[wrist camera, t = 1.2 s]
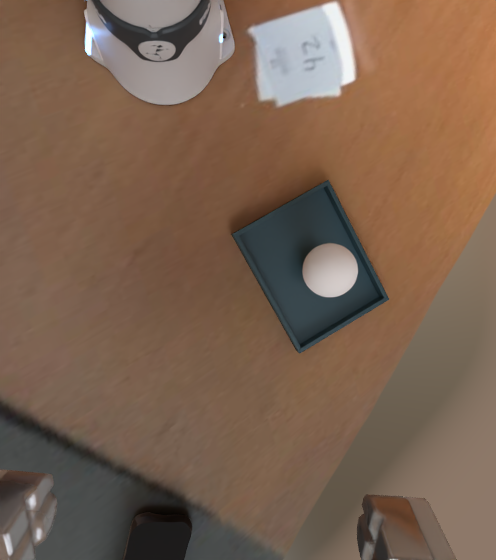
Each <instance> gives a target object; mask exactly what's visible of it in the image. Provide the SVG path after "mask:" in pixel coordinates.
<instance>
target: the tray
mask: <svg viewBox="0 0 496 560" xmlns="http://www.w3.org/2000/svg"><path fill="white" fill-rule="evenodd" d="M231 235H232V236H233V238H234V240H235V242H236V244H237V245H238V247H239V249H240V251H241V253H242V254H243V256H244V258H245V260H246V261H247V263H248V265H249V267H250V269H251V270H252V272H253V274H254V276H255V278H256V279H257V281H258V283H259V285H260V286H261V288H262V290H263V292H264V294H265V295H266V297H267V299H268V301H269V302H270V304H271V306H272V308H273V310H274V311H275V313H276V315H277V317H278V319H279V320H280V322H281V324H282V326H283V327H284V329H285V331H286V333H287V335H288V336H289V338H290V340H291V342H292V344H293V345H294V347H295V349H296V351H297V352H298V353H301V352H303V351H305V350H306V349H308V348H310V347H311V346H313V345H315V344H316V343H318V342H320V341H321V340H323V339H324V338H326V337H328V336H329V335H331V334H333V333H334V332H336V331H338V330H339V329H341V328H343V327H344V326H346V325H348V324H349V323H351V322H353V321H354V320H356V319H358V318H359V317H361V316H363V315H364V314H366V313H368V312H369V311H371V310H373V309H374V308H376V307H377V306H379V305H381V304H382V303H384V302H386V301H387V300H389V298H388V296H387V294H386V292H385V290H384V288H383V286H382V284H381V283H380V281H379V279H378V277H377V275H376V273H375V271H374V269H373V267H372V265H371V263H370V261H369V259H368V257H367V255H366V253H365V251H364V249H363V247H362V245H361V243H360V241H359V239H358V237H357V235H356V233H355V231H354V229H353V227H352V225H351V223H350V221H349V219H348V217H347V215H346V213H345V212H344V210H343V208H342V206H341V204H340V202H339V200H338V198H337V196H336V194H335V192H334V190H333V188H332V186H331V184H330V182H329V180H327V181H325V182H323V183H322V184H320V185H318V186H316V187H315V188H313V189H311V190H309V191H307V192H306V193H304V194H302V195H300V196H299V197H297V198H295V199H293V200H292V201H290V202H288V203H286V204H284V205H283V206H281V207H279V208H277V209H276V210H274V211H272V212H270V213H269V214H267V215H265V216H263V217H261V218H260V219H258V220H256V221H254V222H253V223H251V224H249V225H247V226H246V227H244V228H242V229H240V230H238V231H237V232H235V233H233V234H231ZM327 243H334V244H338V245H341V246H343V247H345V248H347V249H348V250H349V251H350V252H351V253H352V254H353V256H354V257H355V259H356V262H357V266H358V275H357V279H356V281H355V283H354V285H353V286H352V288H351V289H350V290H349V291H347V292H346V293H344V294H343V295H340V296H338V297H323V296H320V295H317V294H316V293H314V292H313V291H312V290H310V289H309V287H308V286H307V285H306V283H305V281H304V278H303V273H302V267H303V263H304V260H305V258H306V256H307V255H308V253H309V252H310V251H311V250H312V249H314V248H315V247H317V246H319V245H322V244H327Z"/></svg>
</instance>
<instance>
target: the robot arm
mask: <svg viewBox="0 0 496 560" xmlns="http://www.w3.org/2000/svg"><path fill="white" fill-rule="evenodd" d="M85 1H87V9H85V10H84V15H85V19H86V28H85V40H84V46H85V50H86V52H87V54H88V55H89V56H90V57H91V58H92V59H94V60H95V61H96V62H98V63H100V64H101V65H103V66H105V67H106V68H107V69H109V71H110V72H111V73H112V74H113V75H114V77H115V78H116V79H117V81H118V82H119V83H120V84H121V85H122V86H123V87H124V88H125V89H126V90H127V91H128V92H130V93H131V94H132V95H134V96H136V97H137V98H139V99H141V100H144V101H146V102H149V103H153V104H158V105H173V104H178V103H182V102H185V101H187V100H189V99H191V98H193V97H195V96H196V95H197V94H199V93H200V92H201V91H202V90H203V89H204V88H205V87H206V86H207V84H208V83H209V81H210V80H211V78H212V76H213V74H214V73H215V71H216V69H217V68H218V67H219V66H220V65H221V64H222V63H224V62H225V61H226V60H228V59H229V58H230V57H231V56H232V55H233V53H234V50H235V43H234V39H233V35H232V31H231V27H230V23H229V20H228V16H227V12H226V8H225V4H224V1H223V0H85ZM223 35H224V36H225V37H226V38H225V39H223ZM53 485H54V482H53V477H52V475H51V474H44V473H34V472H23V471H13V470H0V560H35V558H36V556H35V547H36V546H37V545H39V544H40V543H41V542H42V541H44V540H45V539H46V538H47V536H48V534H49V532H50V530H51V528H52V525H53V522H54V519H55V516H56V510H57V500H56V496H55V495H54V494H53V493H52V492H51V491H50V490H51V488H52V487H53ZM362 507H363V510H364V514H362V515H361V516H360V517H359V519H358V525H357V541H358V547H359V552H360V557H361V560H457V559H456V557H455V555H454V553H453V551H452V549H451V547H450V545H449V543H448V541H447V539H446V537H445V535H444V533H443V531H442V529H441V527H440V525H439V523H438V521H437V518H436V516H435V514H434V512H433V510H432V508H431V506H430V504H429V502H428V501H427V500H426V499H425V498H413V497H403V496H386V495H385V496H384V495H365V497H364V498H363V503H362Z"/></svg>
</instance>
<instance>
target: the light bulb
mask: <svg viewBox="0 0 496 560" xmlns="http://www.w3.org/2000/svg"><path fill="white" fill-rule="evenodd" d="M302 273H303V278H304V281H305V283H306V285H307V286H308V287H309V289H310V290H312V291H313V292H314V293H316V294H317V295H320V296H323V297H338V296H340V295H343V294H344V293H346V292H347V291H349V290H350V289H351V288H352V286H353V285H354V283H355V281H356V279H357V275H358V266H357V262H356V259H355V257H354V256H353V254H352V253H351V252H350V251H349V250H348V249H347V248H345V247H343V246H341V245H338V244H334V243H327V244H322V245H319V246H317V247H315V248H314V249H312V250H311V251H310V252H309V253H308V255H307V256H306V258H305V260H304V263H303V267H302Z"/></svg>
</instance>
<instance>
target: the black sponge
mask: <svg viewBox="0 0 496 560" xmlns="http://www.w3.org/2000/svg"><path fill="white" fill-rule="evenodd" d="M191 532H192V523H191V521H190V519H189V517H188V516H186V515H178V514H175V515H160V514H153V513H150V512H145V513H142V514H139V515H137V516H136V517H134V519H133V521H132V524H131V527H130V533H129V536H128V540H127V544H126V548H125V552H124V557H123V560H184V558H185V554H186V550H187V546H188V543H189V540H190V537H191Z"/></svg>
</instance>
